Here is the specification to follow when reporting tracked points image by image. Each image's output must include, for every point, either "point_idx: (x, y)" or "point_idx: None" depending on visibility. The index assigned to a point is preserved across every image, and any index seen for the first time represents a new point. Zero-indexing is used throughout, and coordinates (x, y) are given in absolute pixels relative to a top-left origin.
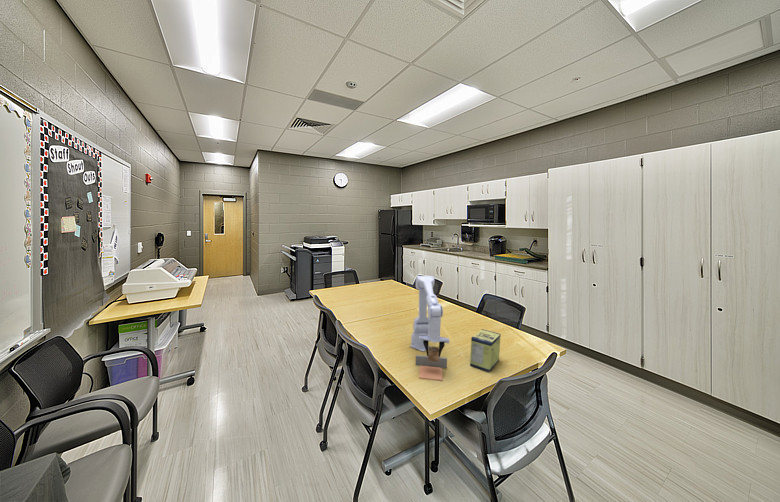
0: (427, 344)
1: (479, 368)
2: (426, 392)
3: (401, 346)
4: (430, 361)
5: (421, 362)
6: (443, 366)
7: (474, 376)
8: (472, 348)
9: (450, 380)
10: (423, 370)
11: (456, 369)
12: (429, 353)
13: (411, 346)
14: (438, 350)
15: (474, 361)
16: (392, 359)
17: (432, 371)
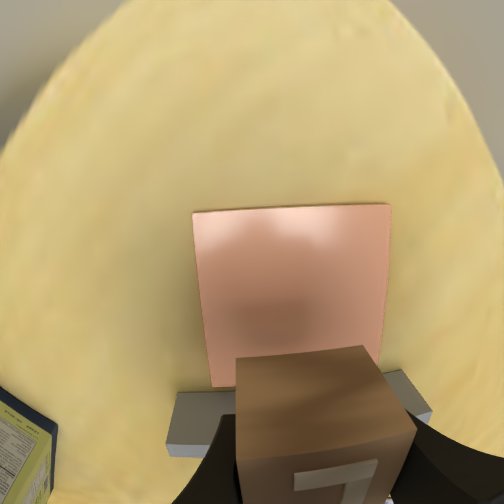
0: (495, 497)
1: (9, 396)
2: (313, 31)
3: None
4: None
5: None
6: (201, 399)
7: (8, 322)
8: (3, 496)
9: (130, 236)
10: (357, 314)
11: (113, 387)
12: (386, 406)
13: (391, 500)
14: (246, 486)
15: (20, 432)
16: (501, 372)
17: (285, 319)
